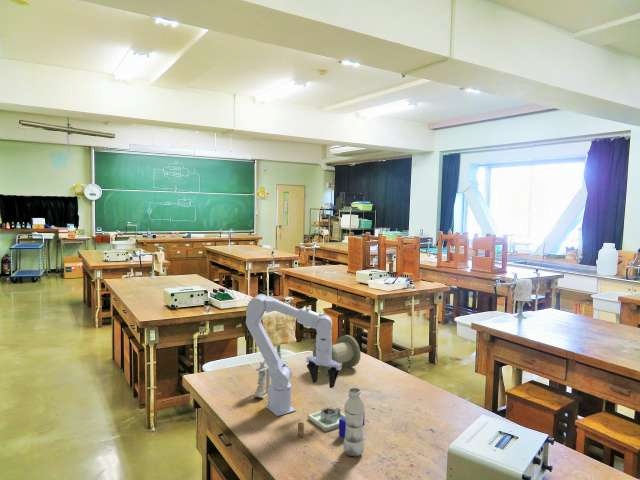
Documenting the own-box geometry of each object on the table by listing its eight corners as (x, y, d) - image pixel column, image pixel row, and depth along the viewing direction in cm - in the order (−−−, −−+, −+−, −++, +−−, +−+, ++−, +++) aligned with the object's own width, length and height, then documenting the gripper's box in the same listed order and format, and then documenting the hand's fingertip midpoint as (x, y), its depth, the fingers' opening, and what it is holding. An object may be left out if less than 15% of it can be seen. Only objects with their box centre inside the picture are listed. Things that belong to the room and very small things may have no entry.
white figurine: (250, 400, 173) (250, 363, 172) (261, 390, 182) (261, 355, 181) (260, 401, 172) (260, 364, 171) (270, 392, 181) (270, 356, 180)
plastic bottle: (362, 447, 140) (363, 385, 139) (365, 459, 133) (366, 395, 132) (342, 447, 140) (343, 385, 138) (344, 459, 133) (345, 395, 132)
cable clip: (350, 440, 144) (350, 423, 144) (338, 436, 147) (339, 419, 146) (368, 426, 154) (368, 409, 154) (356, 422, 157) (357, 406, 156)
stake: (296, 435, 147) (296, 423, 147) (301, 433, 148) (301, 422, 148) (299, 437, 145) (299, 426, 145) (304, 436, 147) (305, 424, 146)
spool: (335, 379, 196) (335, 345, 195) (312, 369, 207) (313, 338, 206) (360, 370, 207) (360, 338, 206) (337, 361, 218) (338, 332, 217)
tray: (308, 418, 159) (308, 414, 159) (333, 411, 165) (333, 407, 165) (326, 431, 150) (326, 427, 150) (351, 423, 156) (351, 419, 156)
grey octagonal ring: (317, 418, 158) (317, 410, 158) (334, 413, 162) (334, 405, 162) (327, 425, 153) (327, 416, 153) (343, 419, 157) (344, 411, 157)
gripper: (301, 347, 163) (301, 383, 164) (334, 355, 155) (333, 393, 156) (312, 343, 169) (312, 377, 170) (345, 350, 161) (344, 386, 162)
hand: (323, 384), depth 163 cm, fingers open, 7 cm apart
